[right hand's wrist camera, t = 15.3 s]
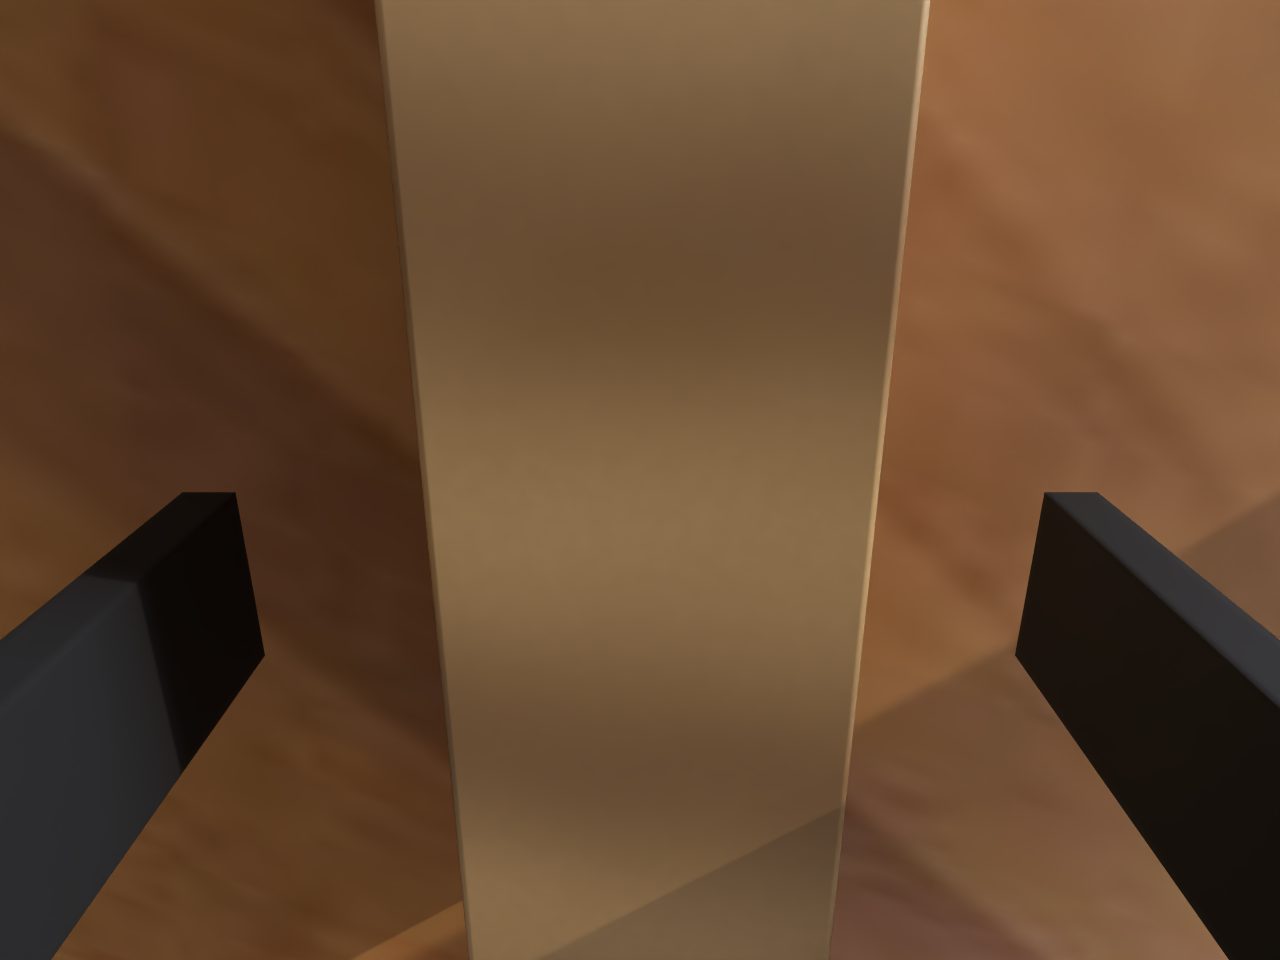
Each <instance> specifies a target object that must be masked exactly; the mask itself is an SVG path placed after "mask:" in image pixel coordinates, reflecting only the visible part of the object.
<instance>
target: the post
mask: <svg viewBox="0 0 1280 960" xmlns="http://www.w3.org/2000/svg"><path fill="white" fill-rule="evenodd" d="M374 5H375V15H376V25H377V35H378V45H379V55H380V66H381V76H382V86H383V96H384V106H385V116H386V126H387V137H388V147H389V157H390V167H391V177H392V187H393V197H394V208H395V218H396V228H397V238H398V248H399V258H400V268H401V278H402V289H403V299H404V309H405V319H406V329H407V339H408V349H409V360H410V370H411V380H412V390H413V400H414V410H415V420H416V431H417V441H418V451H419V461H420V471H421V481H422V491H423V502H424V512H425V522H426V532H427V542H428V552H429V562H430V572H431V583H432V593H433V603H434V613H435V623H436V633H437V643H438V654H439V664H440V674H441V684H442V694H443V704H444V714H445V725H446V735H447V745H448V755H449V765H450V775H451V785H452V795H453V806H454V816H455V826H456V836H457V846H458V856H459V866H460V877H461V887H462V897H463V907H464V917H465V927H466V937H467V948H468V958H469V960H829V957H830V947H831V938H832V928H833V919H834V909H835V900H836V890H837V881H838V871H839V862H840V853H841V843H842V834H843V824H844V815H845V805H846V796H847V786H848V777H849V767H850V758H851V748H852V739H853V729H854V720H855V710H856V701H857V691H858V682H859V672H860V663H861V653H862V644H863V634H864V625H865V615H866V606H867V596H868V587H869V577H870V568H871V558H872V549H873V539H874V530H875V520H876V511H877V502H878V492H879V483H880V473H881V464H882V454H883V445H884V435H885V426H886V416H887V407H888V397H889V388H890V378H891V369H892V359H893V350H894V340H895V331H896V321H897V312H898V302H899V293H900V283H901V274H902V264H903V255H904V245H905V236H906V226H907V217H908V207H909V198H910V188H911V179H912V169H913V160H914V151H915V141H916V132H917V122H918V113H919V103H920V94H921V84H922V75H923V65H924V56H925V46H926V37H927V27H928V18H929V8H930V0H374Z"/></svg>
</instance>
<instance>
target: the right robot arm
mask: <svg viewBox="0 0 1280 960" xmlns="http://www.w3.org/2000/svg"><path fill="white" fill-rule="evenodd" d="M264 656H265V653H264V648H263V642H262V637H261V631H260V625H259V620H258V614H257V609H256V603H255V598H254V592H253V587H252V581H251V576H250V570H249V565H248V559H247V554H246V548H245V543H244V537H243V532H242V526H241V521H240V515H239V510H238V504H237V499H236V493H235V492H182V493H181V494H180V495H179V496H178V497H176V498H175V499H174V500H173V501H171V502H170V503H169V504H168V505H166V506H165V507H164V508H163V509H162V510H160V511H159V512H158V513H157V514H155V515H154V516H153V517H152V518H150V519H149V520H148V521H147V522H145V523H144V524H143V525H142V526H141V527H139V528H138V529H137V530H136V531H134V532H133V533H132V534H131V535H129V536H128V537H127V538H126V539H125V540H123V541H122V542H121V543H120V544H118V545H117V546H116V547H115V548H113V549H112V550H111V551H110V552H109V553H107V554H106V555H105V556H104V557H102V558H101V559H100V560H99V561H97V562H96V563H95V564H94V565H92V566H91V567H90V568H89V569H88V570H86V571H85V572H84V573H83V574H81V575H80V576H79V577H78V578H76V579H75V580H74V581H73V582H72V583H70V584H69V585H68V586H67V587H65V588H64V589H63V590H62V591H60V592H59V593H58V594H57V595H55V596H54V597H53V598H52V599H51V600H49V601H48V602H47V603H46V604H44V605H43V606H42V607H41V608H39V609H38V610H37V611H36V612H35V613H33V614H32V615H31V616H30V617H28V618H27V619H26V620H25V621H23V622H22V623H21V624H20V625H19V626H17V627H16V628H15V629H14V630H12V631H11V632H10V633H9V634H7V635H6V636H5V637H4V638H2V639H1V640H0V960H51V959H52V958H53V956H54V955H55V953H56V952H57V951H58V949H59V948H60V946H61V945H62V943H63V942H64V941H65V939H66V938H67V936H68V935H69V933H70V932H71V931H72V929H73V928H74V926H75V925H76V923H77V922H78V921H79V919H80V918H81V916H82V915H83V914H84V912H85V911H86V909H87V908H88V906H89V905H90V904H91V902H92V901H93V899H94V898H95V896H96V895H97V894H98V892H99V891H100V889H101V888H102V886H103V885H104V884H105V882H106V881H107V879H108V878H109V877H110V875H111V874H112V872H113V871H114V869H115V868H116V867H117V865H118V864H119V862H120V861H121V859H122V858H123V857H124V855H125V854H126V852H127V851H128V849H129V848H130V847H131V845H132V844H133V842H134V841H135V839H136V838H137V837H138V835H139V834H140V832H141V831H142V830H143V828H144V827H145V825H146V824H147V822H148V821H149V820H150V818H151V817H152V815H153V814H154V812H155V811H156V810H157V808H158V807H159V805H160V804H161V802H162V801H163V800H164V798H165V797H166V795H167V794H168V793H169V791H170V790H171V788H172V787H173V785H174V784H175V783H176V781H177V780H178V778H179V777H180V775H181V774H182V773H183V771H184V770H185V768H186V767H187V765H188V764H189V763H190V761H191V760H192V758H193V757H194V756H195V754H196V753H197V751H198V750H199V748H200V747H201V746H202V744H203V743H204V741H205V740H206V738H207V737H208V736H209V734H210V733H211V731H212V730H213V728H214V727H215V726H216V724H217V723H218V721H219V720H220V719H221V717H222V716H223V714H224V713H225V711H226V710H227V709H228V707H229V706H230V704H231V703H232V701H233V700H234V699H235V697H236V696H237V694H238V693H239V691H240V690H241V689H242V687H243V686H244V684H245V683H246V681H247V680H248V679H249V677H250V676H251V674H252V673H253V672H254V670H255V669H256V667H257V666H258V664H259V663H260V662H261V660H262V659H263V657H264ZM1015 656H1016V657H1017V659H1018V660H1019V662H1020V663H1021V664H1022V666H1023V667H1024V669H1025V670H1026V672H1027V673H1028V674H1029V676H1030V677H1031V679H1032V680H1033V681H1034V683H1035V684H1036V686H1037V687H1038V689H1039V690H1040V691H1041V693H1042V694H1043V696H1044V697H1045V699H1046V700H1047V701H1048V703H1049V704H1050V706H1051V707H1052V709H1053V710H1054V711H1055V713H1056V714H1057V716H1058V717H1059V718H1060V720H1061V721H1062V723H1063V724H1064V726H1065V727H1066V728H1067V730H1068V731H1069V733H1070V734H1071V736H1072V737H1073V738H1074V740H1075V741H1076V743H1077V744H1078V746H1079V747H1080V748H1081V750H1082V751H1083V753H1084V754H1085V755H1086V757H1087V758H1088V760H1089V761H1090V763H1091V764H1092V765H1093V767H1094V768H1095V770H1096V771H1097V773H1098V774H1099V775H1100V777H1101V778H1102V780H1103V781H1104V783H1105V784H1106V785H1107V787H1108V788H1109V790H1110V791H1111V793H1112V794H1113V795H1114V797H1115V798H1116V800H1117V801H1118V802H1119V804H1120V805H1121V807H1122V808H1123V810H1124V811H1125V812H1126V814H1127V815H1128V817H1129V818H1130V820H1131V821H1132V822H1133V824H1134V825H1135V827H1136V828H1137V830H1138V831H1139V832H1140V834H1141V835H1142V837H1143V838H1144V839H1145V841H1146V842H1147V844H1148V845H1149V847H1150V848H1151V849H1152V851H1153V852H1154V854H1155V855H1156V857H1157V858H1158V859H1159V861H1160V862H1161V864H1162V865H1163V867H1164V868H1165V869H1166V871H1167V872H1168V874H1169V875H1170V876H1171V878H1172V879H1173V881H1174V882H1175V884H1176V885H1177V886H1178V888H1179V889H1180V891H1181V892H1182V894H1183V895H1184V896H1185V898H1186V899H1187V901H1188V902H1189V904H1190V905H1191V906H1192V908H1193V909H1194V911H1195V912H1196V913H1197V915H1198V916H1199V918H1200V919H1201V921H1202V922H1203V923H1204V925H1205V926H1206V928H1207V929H1208V931H1209V932H1210V933H1211V935H1212V936H1213V938H1214V939H1215V941H1216V942H1217V943H1218V945H1219V946H1220V948H1221V949H1222V950H1223V952H1224V953H1225V955H1226V956H1227V958H1228V959H1229V960H1280V640H1279V639H1278V638H1276V637H1275V636H1274V635H1273V634H1271V633H1270V632H1269V631H1268V630H1266V629H1265V628H1264V627H1263V626H1262V625H1260V624H1259V623H1258V622H1257V621H1255V620H1254V619H1253V618H1252V617H1250V616H1249V615H1248V614H1247V613H1245V612H1244V611H1243V610H1242V609H1241V608H1239V607H1238V606H1237V605H1236V604H1234V603H1233V602H1232V601H1231V600H1229V599H1228V598H1227V597H1226V596H1225V595H1223V594H1222V593H1221V592H1220V591H1218V590H1217V589H1216V588H1215V587H1213V586H1212V585H1211V584H1210V583H1208V582H1207V581H1206V580H1205V579H1204V578H1202V577H1201V576H1200V575H1199V574H1197V573H1196V572H1195V571H1194V570H1192V569H1191V568H1190V567H1189V566H1188V565H1186V564H1185V563H1184V562H1183V561H1181V560H1180V559H1179V558H1178V557H1176V556H1175V555H1174V554H1173V553H1172V552H1170V551H1169V550H1168V549H1167V548H1165V547H1164V546H1163V545H1162V544H1160V543H1159V542H1158V541H1157V540H1155V539H1154V538H1153V537H1152V536H1151V535H1149V534H1148V533H1147V532H1146V531H1144V530H1143V529H1142V528H1141V527H1139V526H1138V525H1137V524H1136V523H1135V522H1133V521H1132V520H1131V519H1130V518H1128V517H1127V516H1126V515H1125V514H1123V513H1122V512H1121V511H1120V510H1118V509H1117V508H1116V507H1115V506H1114V505H1112V504H1111V503H1110V502H1109V501H1107V500H1106V499H1105V498H1104V497H1102V496H1101V495H1100V494H1099V493H1098V492H1045V493H1044V499H1043V504H1042V510H1041V515H1040V521H1039V526H1038V532H1037V537H1036V543H1035V548H1034V554H1033V559H1032V565H1031V570H1030V576H1029V581H1028V587H1027V592H1026V598H1025V604H1024V609H1023V615H1022V620H1021V626H1020V631H1019V637H1018V642H1017V648H1016V653H1015Z"/></svg>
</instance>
